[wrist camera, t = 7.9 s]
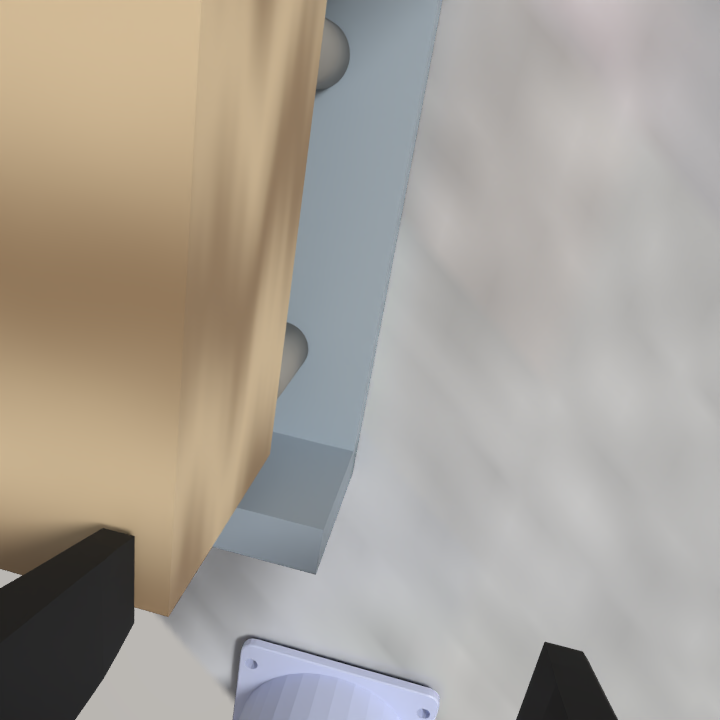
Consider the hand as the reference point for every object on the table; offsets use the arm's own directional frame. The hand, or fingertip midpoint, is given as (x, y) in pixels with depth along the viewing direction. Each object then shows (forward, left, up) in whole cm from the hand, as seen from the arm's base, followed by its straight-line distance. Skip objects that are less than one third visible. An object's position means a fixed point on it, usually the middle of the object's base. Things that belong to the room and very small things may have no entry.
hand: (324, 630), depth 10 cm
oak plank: (+5, +5, -6) cm, 10 cm away
